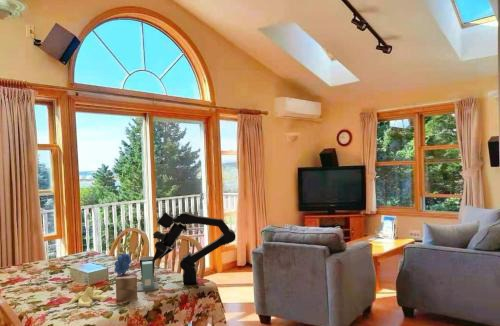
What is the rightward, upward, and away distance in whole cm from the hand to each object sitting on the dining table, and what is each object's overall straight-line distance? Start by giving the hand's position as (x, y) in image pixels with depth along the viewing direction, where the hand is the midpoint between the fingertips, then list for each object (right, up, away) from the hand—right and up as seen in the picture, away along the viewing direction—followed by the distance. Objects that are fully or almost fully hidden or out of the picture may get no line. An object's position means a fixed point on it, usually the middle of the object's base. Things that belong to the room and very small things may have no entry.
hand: (156, 259), depth 200 cm
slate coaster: (-4, -13, -3) cm, 14 cm away
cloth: (-28, -15, -18) cm, 37 cm away
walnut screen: (-9, -14, -19) cm, 25 cm away
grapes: (-25, -14, +23) cm, 36 cm away
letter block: (-4, -13, -3) cm, 14 cm away
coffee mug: (-8, -14, +18) cm, 24 cm away
